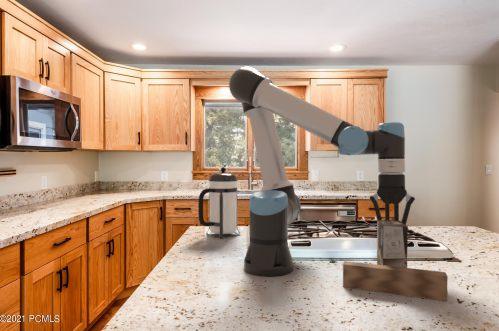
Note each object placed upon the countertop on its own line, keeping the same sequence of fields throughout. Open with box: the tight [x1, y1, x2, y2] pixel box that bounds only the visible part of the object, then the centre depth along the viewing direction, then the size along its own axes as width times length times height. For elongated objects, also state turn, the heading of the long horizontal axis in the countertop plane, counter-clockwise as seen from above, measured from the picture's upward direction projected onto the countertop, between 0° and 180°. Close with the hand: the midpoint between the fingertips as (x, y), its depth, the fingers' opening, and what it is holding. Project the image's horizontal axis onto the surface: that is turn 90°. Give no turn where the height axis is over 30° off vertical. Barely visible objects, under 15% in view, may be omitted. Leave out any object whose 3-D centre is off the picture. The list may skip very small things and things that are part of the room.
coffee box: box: [376, 219, 409, 268], centre depth 93 cm, size 9×6×16 cm
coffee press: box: [197, 166, 241, 239], centre depth 147 cm, size 17×16×30 cm
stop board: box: [342, 260, 449, 302], centre depth 85 cm, size 24×3×6 cm, turn 68°
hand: (392, 250), depth 103 cm, fingers closed
